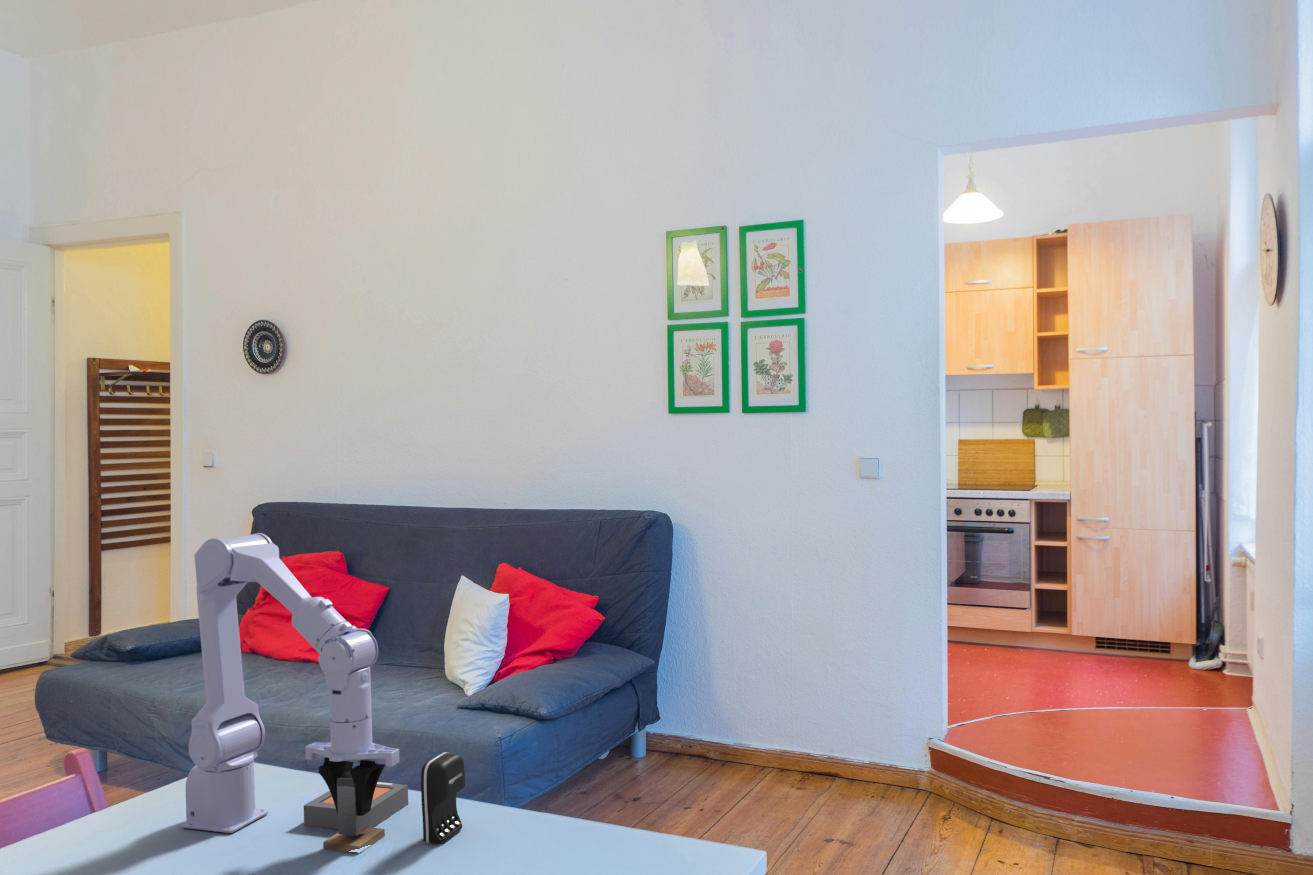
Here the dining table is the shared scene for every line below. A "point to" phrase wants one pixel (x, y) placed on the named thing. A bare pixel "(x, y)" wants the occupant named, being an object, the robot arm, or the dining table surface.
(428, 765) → the battery charger
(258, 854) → the dining table surface
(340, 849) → the walnut pad
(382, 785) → the tray
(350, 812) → the grey rectangular block
